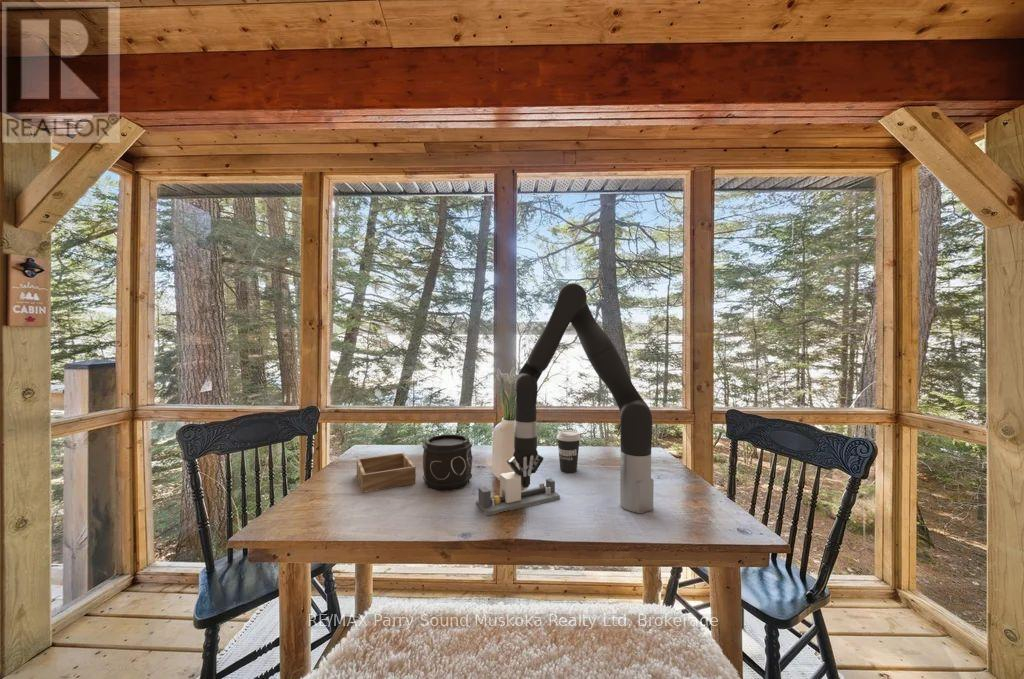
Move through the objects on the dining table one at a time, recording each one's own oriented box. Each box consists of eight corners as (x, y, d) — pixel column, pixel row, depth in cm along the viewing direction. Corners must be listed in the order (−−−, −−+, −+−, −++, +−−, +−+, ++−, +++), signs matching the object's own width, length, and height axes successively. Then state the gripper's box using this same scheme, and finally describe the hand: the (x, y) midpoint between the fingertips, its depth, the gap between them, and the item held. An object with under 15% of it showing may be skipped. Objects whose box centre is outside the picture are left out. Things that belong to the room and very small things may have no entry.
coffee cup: (551, 468, 159) (551, 431, 159) (571, 465, 163) (572, 428, 163) (564, 476, 150) (564, 437, 150) (585, 472, 154) (585, 434, 154)
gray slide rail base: (545, 489, 138) (545, 471, 138) (559, 498, 130) (559, 480, 130) (475, 504, 126) (475, 484, 126) (486, 515, 118) (486, 495, 118)
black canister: (479, 487, 139) (479, 443, 139) (428, 495, 133) (428, 449, 132) (466, 471, 156) (466, 431, 156) (419, 477, 149) (419, 435, 149)
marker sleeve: (513, 494, 130) (513, 471, 130) (520, 500, 126) (521, 476, 126) (499, 497, 128) (500, 474, 128) (506, 503, 123) (506, 479, 123)
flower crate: (415, 483, 143) (415, 466, 143) (362, 492, 135) (362, 475, 135) (404, 467, 160) (404, 452, 160) (356, 474, 152) (356, 459, 152)
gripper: (512, 439, 123) (512, 494, 123) (549, 434, 129) (548, 487, 129) (502, 433, 129) (502, 486, 130) (537, 429, 135) (537, 479, 136)
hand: (525, 486), depth 129 cm, fingers closed
